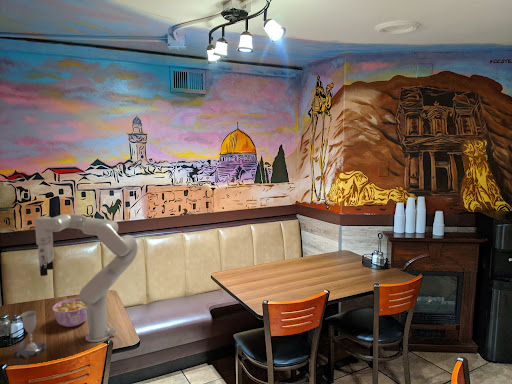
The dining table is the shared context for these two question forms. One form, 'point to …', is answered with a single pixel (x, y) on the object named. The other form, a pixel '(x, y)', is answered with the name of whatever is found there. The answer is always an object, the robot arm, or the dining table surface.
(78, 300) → the bowl of food
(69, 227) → the robot arm
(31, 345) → the chalice
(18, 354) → the gear trivet
